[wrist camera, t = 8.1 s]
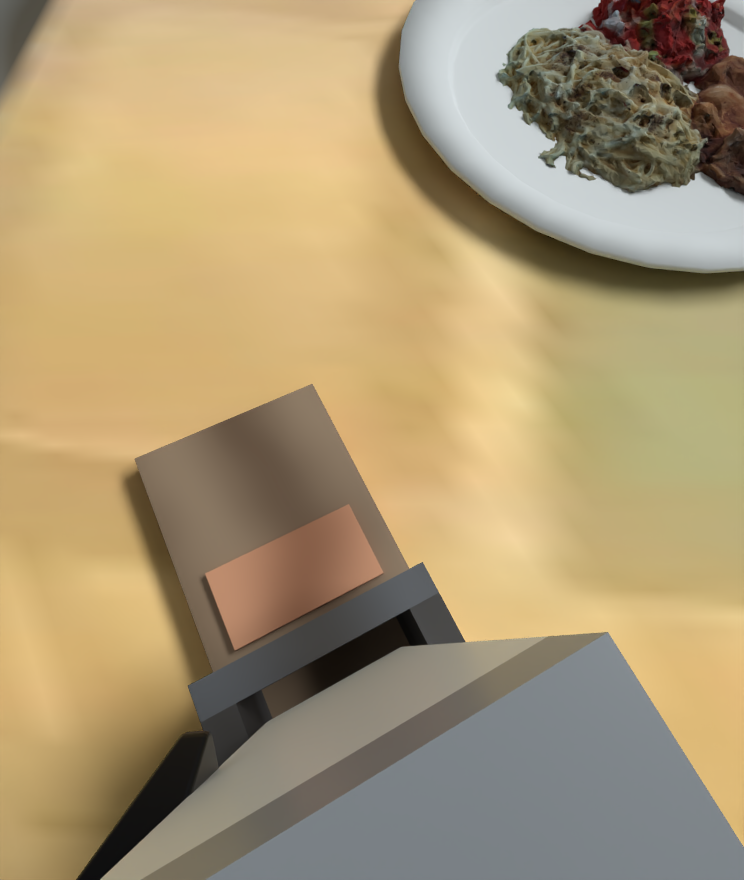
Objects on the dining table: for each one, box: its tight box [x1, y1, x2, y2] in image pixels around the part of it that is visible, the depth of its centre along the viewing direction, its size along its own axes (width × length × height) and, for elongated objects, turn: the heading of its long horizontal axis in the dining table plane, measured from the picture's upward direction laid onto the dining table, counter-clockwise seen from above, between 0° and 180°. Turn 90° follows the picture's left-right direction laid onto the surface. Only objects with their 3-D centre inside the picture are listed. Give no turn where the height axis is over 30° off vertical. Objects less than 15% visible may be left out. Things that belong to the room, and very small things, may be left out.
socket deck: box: [135, 384, 465, 768], centre depth 18 cm, size 8×17×6 cm, turn 27°
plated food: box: [399, 0, 744, 273], centre depth 31 cm, size 30×30×3 cm
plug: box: [100, 632, 744, 880], centre depth 8 cm, size 4×4×12 cm
